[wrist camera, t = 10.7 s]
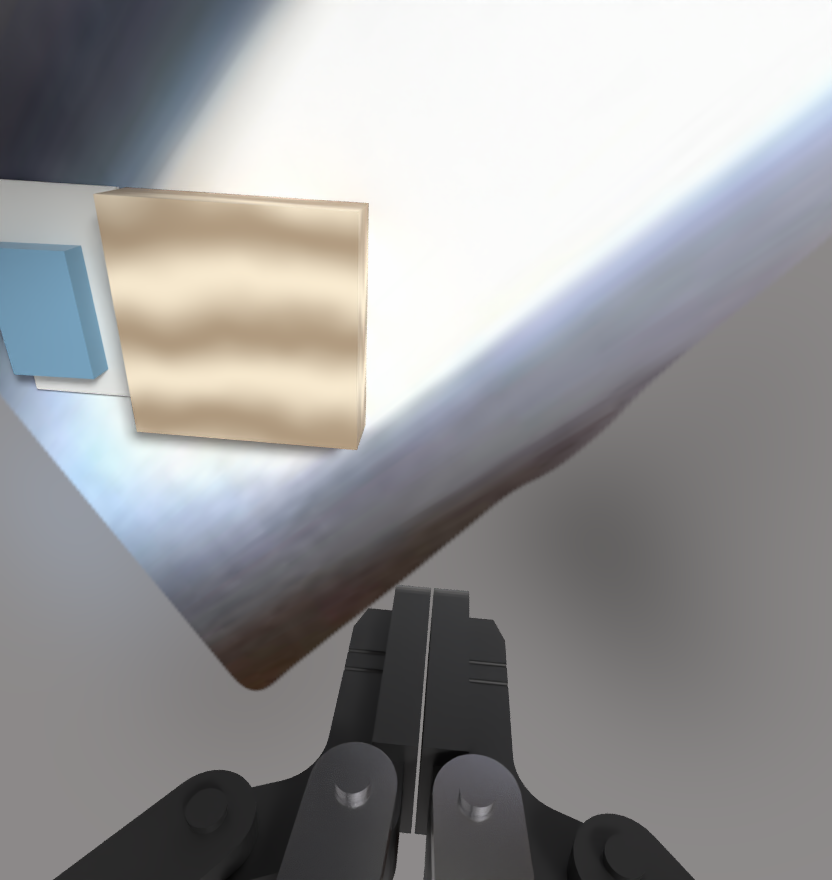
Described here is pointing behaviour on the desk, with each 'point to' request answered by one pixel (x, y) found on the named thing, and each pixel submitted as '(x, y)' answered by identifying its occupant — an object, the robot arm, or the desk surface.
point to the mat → (75, 223)
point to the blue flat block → (49, 312)
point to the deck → (240, 313)
